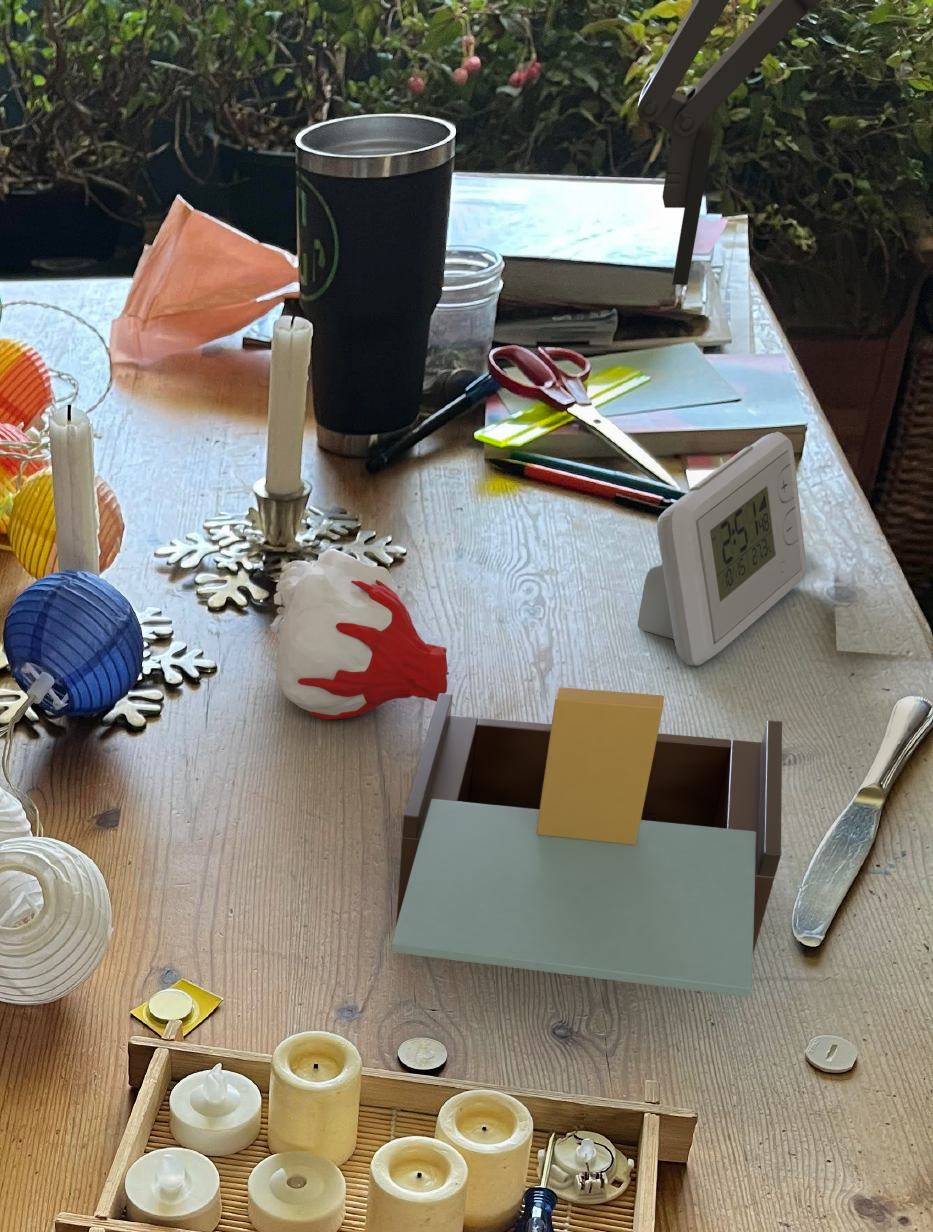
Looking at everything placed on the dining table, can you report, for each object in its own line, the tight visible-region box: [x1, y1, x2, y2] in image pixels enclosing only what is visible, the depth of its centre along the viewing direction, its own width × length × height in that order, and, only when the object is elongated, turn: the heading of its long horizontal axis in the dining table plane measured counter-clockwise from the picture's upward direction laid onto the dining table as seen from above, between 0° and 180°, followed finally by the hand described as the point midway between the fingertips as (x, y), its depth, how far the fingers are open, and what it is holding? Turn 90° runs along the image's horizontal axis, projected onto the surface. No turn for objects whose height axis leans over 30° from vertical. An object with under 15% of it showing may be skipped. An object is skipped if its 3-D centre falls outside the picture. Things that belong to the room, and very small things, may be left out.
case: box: [395, 693, 783, 954], centre depth 87 cm, size 19×13×9 cm
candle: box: [269, 548, 450, 720], centre depth 105 cm, size 9×11×15 cm
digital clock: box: [637, 431, 807, 666], centre depth 108 cm, size 16×9×11 cm, turn 126°
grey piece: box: [390, 686, 756, 999], centre depth 75 cm, size 17×13×9 cm
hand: (821, 278), depth 79 cm, fingers open, 13 cm apart
